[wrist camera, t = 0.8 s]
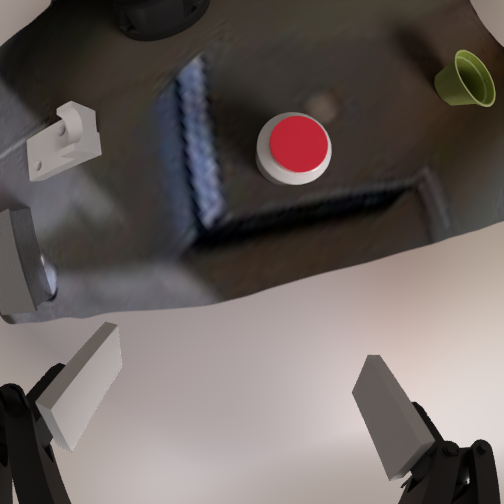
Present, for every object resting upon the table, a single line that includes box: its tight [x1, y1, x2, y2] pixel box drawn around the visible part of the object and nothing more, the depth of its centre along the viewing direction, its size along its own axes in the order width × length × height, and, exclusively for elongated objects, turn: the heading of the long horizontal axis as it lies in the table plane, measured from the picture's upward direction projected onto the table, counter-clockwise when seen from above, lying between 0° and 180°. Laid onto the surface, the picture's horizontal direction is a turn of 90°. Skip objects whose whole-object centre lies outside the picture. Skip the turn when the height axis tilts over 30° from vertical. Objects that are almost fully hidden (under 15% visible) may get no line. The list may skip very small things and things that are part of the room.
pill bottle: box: [255, 112, 331, 186], centre depth 29 cm, size 8×8×11 cm
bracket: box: [27, 101, 102, 181], centre depth 30 cm, size 13×7×8 cm, turn 101°
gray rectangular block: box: [0, 208, 53, 315], centre depth 34 cm, size 17×12×6 cm
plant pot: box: [434, 50, 495, 107], centre depth 27 cm, size 9×9×9 cm
